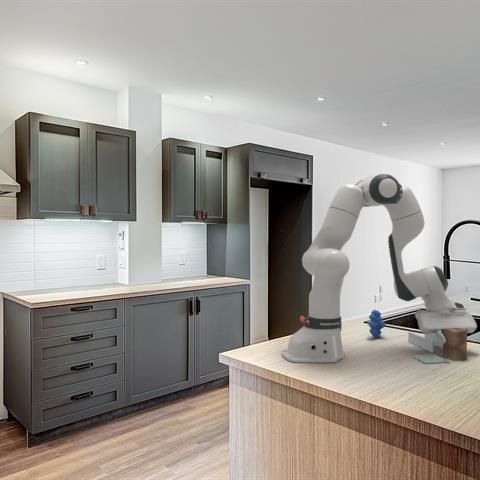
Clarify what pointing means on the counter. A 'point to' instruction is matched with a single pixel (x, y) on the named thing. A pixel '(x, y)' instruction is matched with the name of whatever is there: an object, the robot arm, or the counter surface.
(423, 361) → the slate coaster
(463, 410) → the counter surface
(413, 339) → the acrylic channel
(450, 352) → the walnut block
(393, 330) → the counter surface
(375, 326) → the grapes
